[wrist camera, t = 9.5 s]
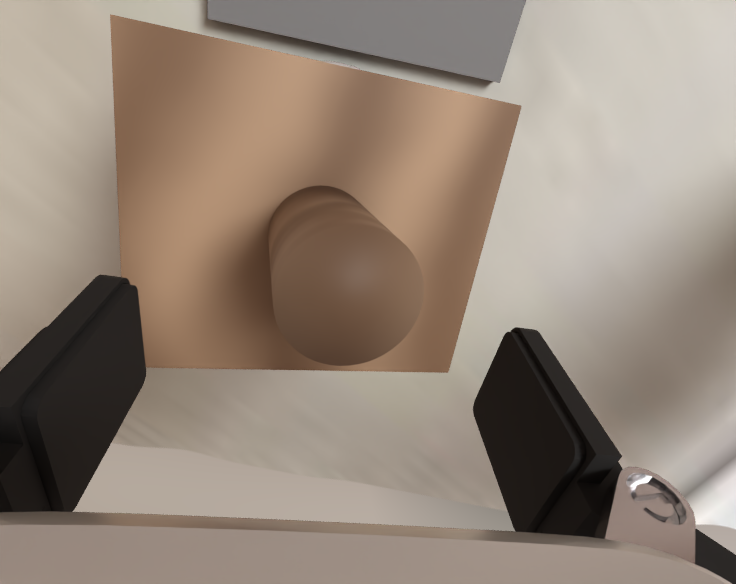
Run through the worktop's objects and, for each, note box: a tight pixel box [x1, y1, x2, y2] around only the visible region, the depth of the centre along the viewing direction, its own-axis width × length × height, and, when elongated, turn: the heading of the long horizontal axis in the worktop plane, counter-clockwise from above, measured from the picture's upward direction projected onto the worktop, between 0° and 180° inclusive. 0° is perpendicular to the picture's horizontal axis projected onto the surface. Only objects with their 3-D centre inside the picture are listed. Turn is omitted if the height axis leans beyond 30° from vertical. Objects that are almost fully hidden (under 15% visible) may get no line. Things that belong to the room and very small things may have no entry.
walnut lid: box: [110, 15, 521, 372], centre depth 14 cm, size 14×12×7 cm
